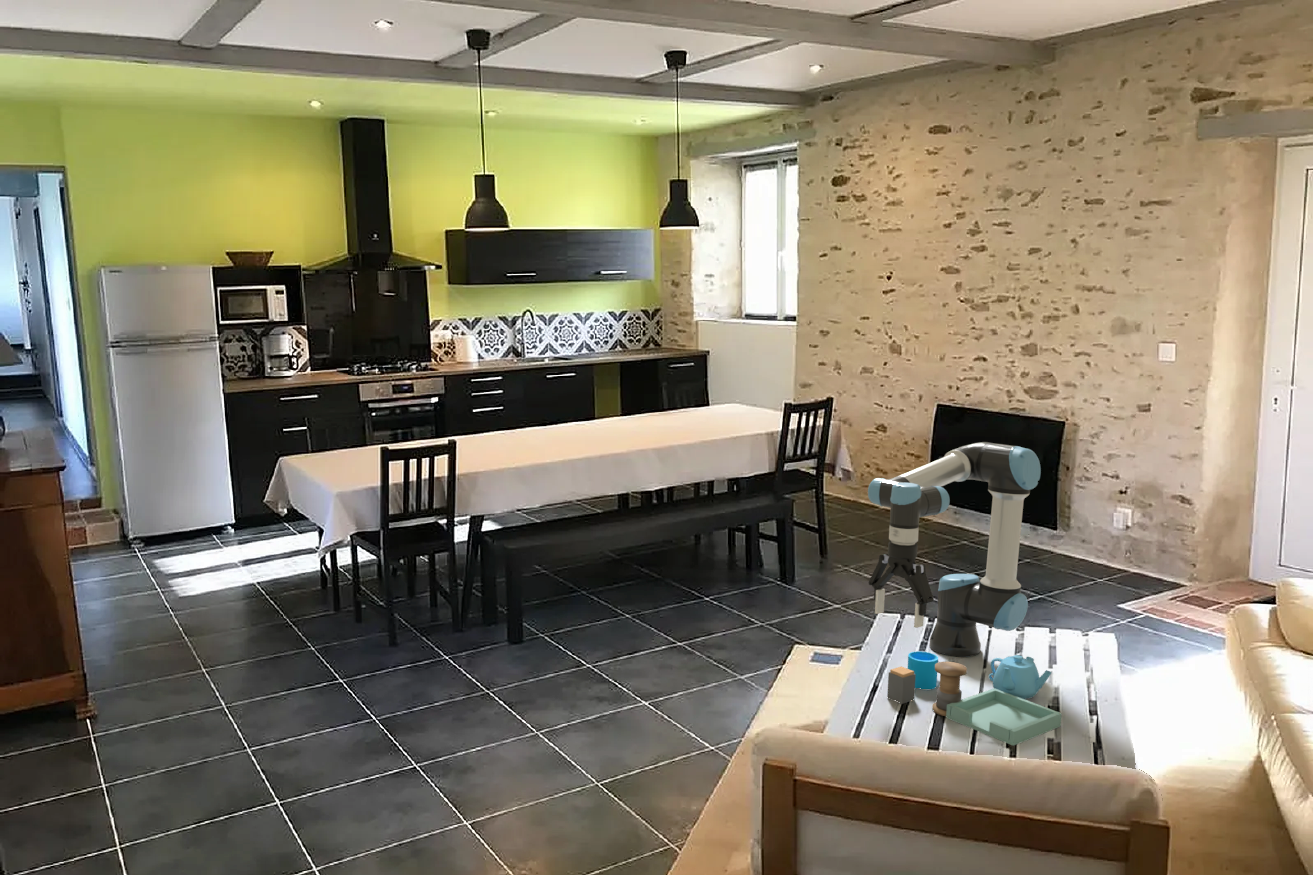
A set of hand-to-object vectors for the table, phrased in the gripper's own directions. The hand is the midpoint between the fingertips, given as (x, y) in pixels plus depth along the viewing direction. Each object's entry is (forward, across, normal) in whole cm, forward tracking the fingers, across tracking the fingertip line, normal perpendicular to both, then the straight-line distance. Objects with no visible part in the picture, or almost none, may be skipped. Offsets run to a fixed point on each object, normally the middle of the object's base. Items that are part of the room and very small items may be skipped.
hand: (898, 619), depth 279 cm
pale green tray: (+22, +26, +12) cm, 36 cm away
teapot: (+22, +18, +30) cm, 41 cm away
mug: (+22, -3, +16) cm, 28 cm away
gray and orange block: (+22, +1, +2) cm, 22 cm away
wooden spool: (+22, +14, +6) cm, 26 cm away
